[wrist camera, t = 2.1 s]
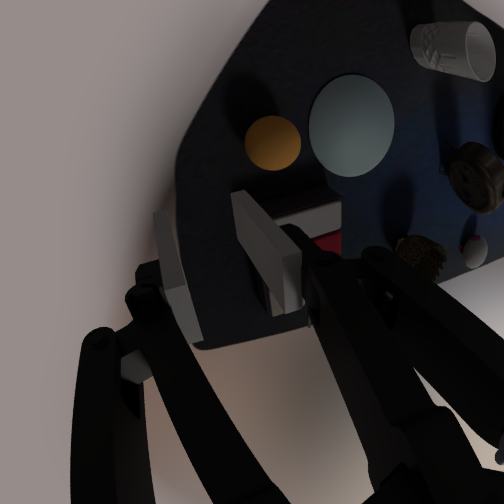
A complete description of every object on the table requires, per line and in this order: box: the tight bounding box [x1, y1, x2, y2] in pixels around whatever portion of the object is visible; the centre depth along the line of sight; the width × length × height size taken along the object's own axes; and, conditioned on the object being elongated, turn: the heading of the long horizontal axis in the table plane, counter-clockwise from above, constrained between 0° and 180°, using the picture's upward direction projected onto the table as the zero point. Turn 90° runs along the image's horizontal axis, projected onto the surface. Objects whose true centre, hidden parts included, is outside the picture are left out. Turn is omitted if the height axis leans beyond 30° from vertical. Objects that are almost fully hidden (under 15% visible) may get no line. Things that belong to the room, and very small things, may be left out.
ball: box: [245, 116, 301, 170], centre depth 30 cm, size 6×6×6 cm
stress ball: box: [459, 234, 487, 268], centre depth 55 cm, size 8×8×7 cm
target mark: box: [308, 75, 394, 177], centre depth 34 cm, size 13×13×1 cm
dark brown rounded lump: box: [392, 235, 447, 281], centre depth 44 cm, size 8×7×8 cm
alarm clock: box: [440, 140, 504, 215], centre depth 36 cm, size 11×5×16 cm, turn 32°
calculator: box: [254, 185, 343, 317], centre depth 39 cm, size 11×4×15 cm
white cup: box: [410, 21, 496, 82], centre depth 27 cm, size 8×8×10 cm
